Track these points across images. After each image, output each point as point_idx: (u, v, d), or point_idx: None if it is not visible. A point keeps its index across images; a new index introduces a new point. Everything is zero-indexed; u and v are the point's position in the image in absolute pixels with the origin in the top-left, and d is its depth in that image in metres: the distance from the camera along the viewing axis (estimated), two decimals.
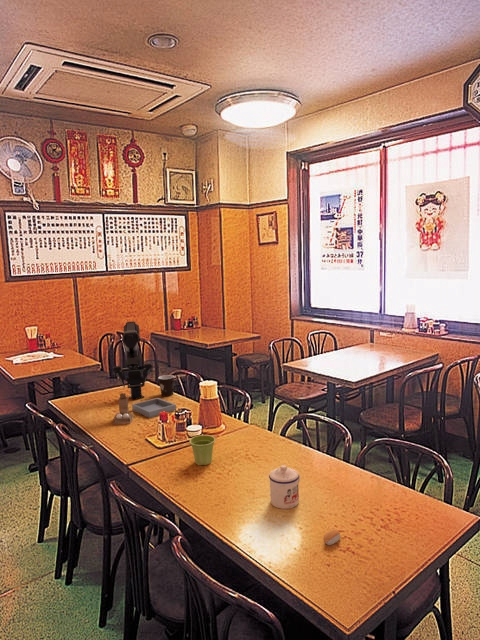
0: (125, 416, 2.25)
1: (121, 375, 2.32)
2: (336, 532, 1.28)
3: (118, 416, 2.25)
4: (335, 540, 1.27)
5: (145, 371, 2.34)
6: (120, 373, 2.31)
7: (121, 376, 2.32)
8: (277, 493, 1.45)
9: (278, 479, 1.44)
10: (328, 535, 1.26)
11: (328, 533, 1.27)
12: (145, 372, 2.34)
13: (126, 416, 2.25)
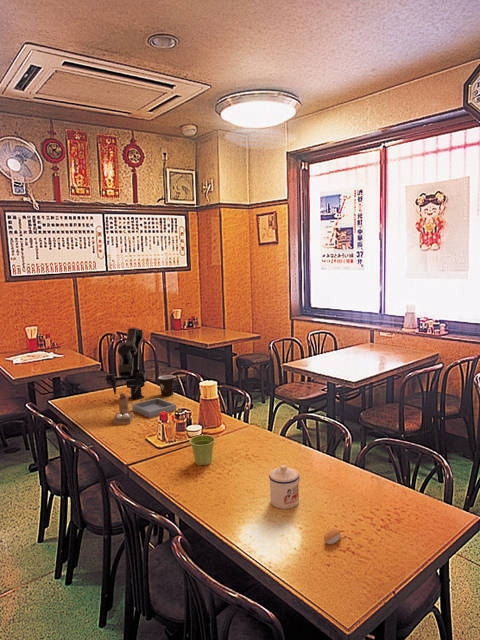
0: (125, 416, 2.25)
1: (113, 382, 2.35)
2: (337, 531, 1.28)
3: (118, 416, 2.25)
4: (336, 539, 1.27)
5: (136, 379, 2.35)
6: (112, 380, 2.35)
7: (113, 383, 2.35)
8: (277, 493, 1.45)
9: (278, 479, 1.44)
10: (329, 535, 1.26)
11: (329, 532, 1.27)
12: (136, 380, 2.36)
13: (126, 416, 2.25)
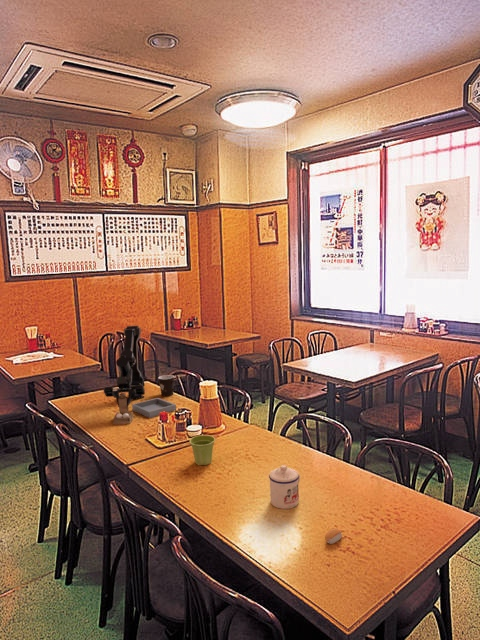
0: (125, 416, 2.25)
1: (117, 395, 2.30)
2: (338, 531, 1.28)
3: (118, 416, 2.25)
4: (337, 539, 1.27)
5: (130, 392, 2.30)
6: (116, 392, 2.30)
7: (117, 396, 2.30)
8: (277, 493, 1.45)
9: (278, 479, 1.44)
10: (330, 534, 1.27)
11: (330, 532, 1.27)
12: (130, 393, 2.30)
13: (126, 416, 2.25)
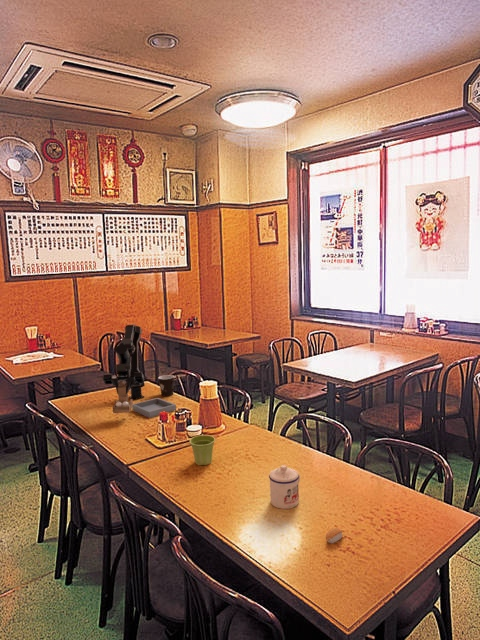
0: (125, 404, 2.25)
1: (116, 382, 2.29)
2: (338, 530, 1.28)
3: (117, 404, 2.25)
4: (337, 538, 1.27)
5: (129, 379, 2.29)
6: (115, 380, 2.29)
7: (116, 383, 2.29)
8: (277, 493, 1.45)
9: (278, 479, 1.44)
10: (331, 533, 1.27)
11: (330, 531, 1.28)
12: (129, 380, 2.30)
13: (126, 404, 2.25)
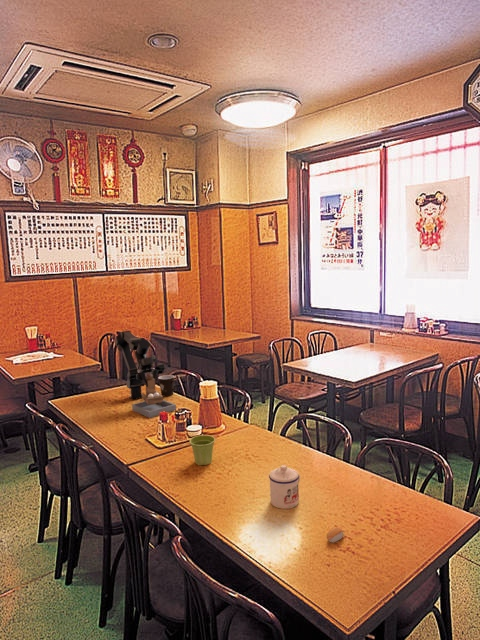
0: (157, 395, 2.39)
1: (143, 375, 2.41)
2: (339, 530, 1.29)
3: (151, 396, 2.38)
4: (338, 538, 1.28)
5: (154, 371, 2.44)
6: (142, 373, 2.40)
7: (143, 376, 2.41)
8: (277, 493, 1.45)
9: (278, 479, 1.44)
10: (332, 533, 1.27)
11: (331, 531, 1.28)
12: (154, 372, 2.44)
13: (158, 395, 2.40)
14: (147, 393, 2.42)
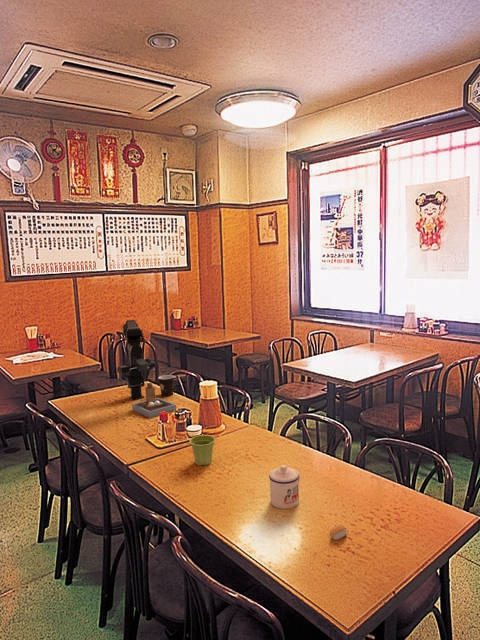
0: None
1: (128, 375, 2.38)
2: (342, 527, 1.30)
3: (151, 405, 2.38)
4: (341, 535, 1.29)
5: (149, 370, 2.45)
6: (128, 374, 2.37)
7: (128, 376, 2.39)
8: (277, 493, 1.45)
9: (278, 479, 1.44)
10: (334, 530, 1.28)
11: (334, 528, 1.29)
12: (149, 370, 2.45)
13: None
14: (147, 402, 2.43)
